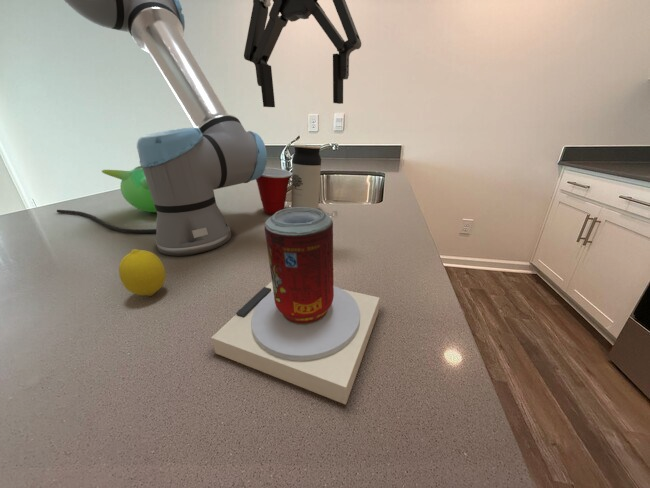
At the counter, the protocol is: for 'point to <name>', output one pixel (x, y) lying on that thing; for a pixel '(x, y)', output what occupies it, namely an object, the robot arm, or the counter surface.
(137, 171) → the toy bird
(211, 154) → the robot arm
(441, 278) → the counter surface
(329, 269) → the soda can
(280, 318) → the kitchen scale
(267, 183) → the plastic cup
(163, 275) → the lemon
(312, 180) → the travel mug
